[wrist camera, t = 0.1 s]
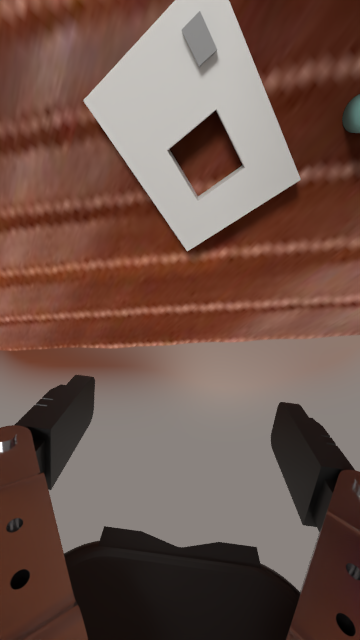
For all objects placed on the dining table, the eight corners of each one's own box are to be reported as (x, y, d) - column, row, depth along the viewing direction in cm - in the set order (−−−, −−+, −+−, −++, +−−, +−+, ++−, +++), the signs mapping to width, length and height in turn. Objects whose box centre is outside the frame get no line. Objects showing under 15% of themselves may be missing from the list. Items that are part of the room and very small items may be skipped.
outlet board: (91, 102, 31) (80, 100, 28) (212, -27, 25) (212, -46, 22) (188, 245, 40) (186, 253, 37) (295, 176, 33) (302, 180, 31)
